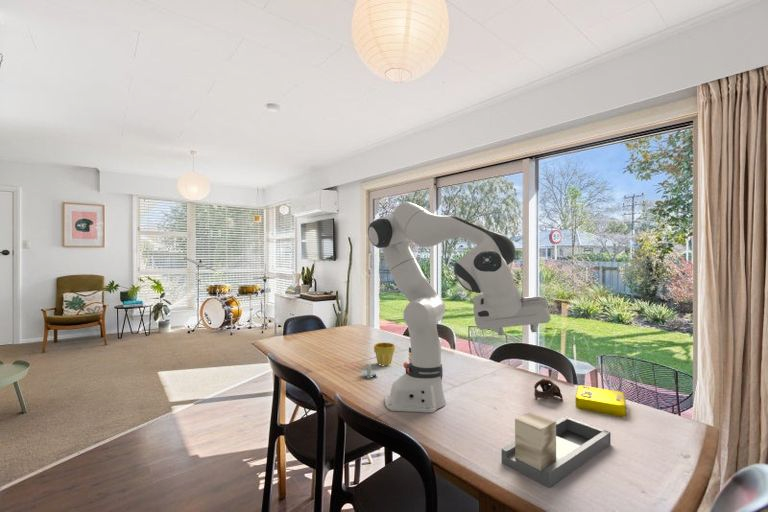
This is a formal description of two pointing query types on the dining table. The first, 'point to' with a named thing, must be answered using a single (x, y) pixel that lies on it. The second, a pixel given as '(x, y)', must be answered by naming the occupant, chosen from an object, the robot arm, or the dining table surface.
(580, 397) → the element tile
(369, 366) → the pacifier
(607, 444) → the grey rimmed tray
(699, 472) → the dining table surface
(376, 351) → the plant pot
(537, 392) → the pottery mug
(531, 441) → the block
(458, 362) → the dining table surface
